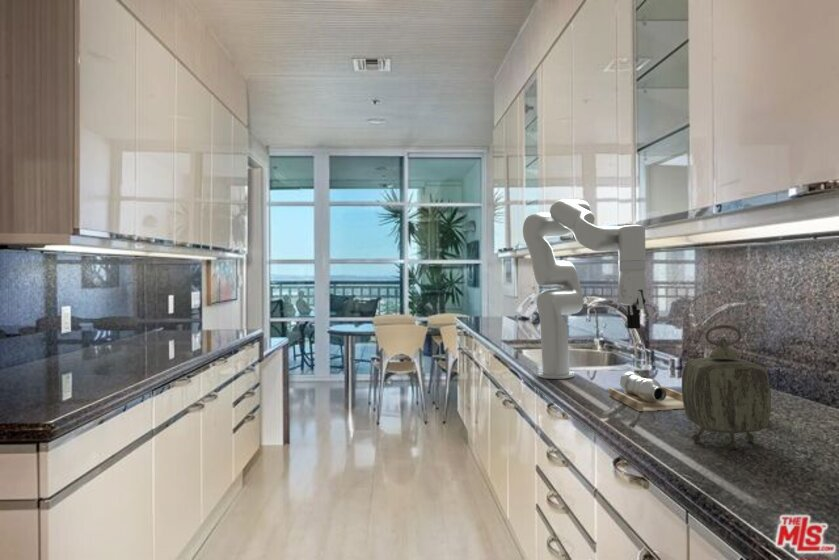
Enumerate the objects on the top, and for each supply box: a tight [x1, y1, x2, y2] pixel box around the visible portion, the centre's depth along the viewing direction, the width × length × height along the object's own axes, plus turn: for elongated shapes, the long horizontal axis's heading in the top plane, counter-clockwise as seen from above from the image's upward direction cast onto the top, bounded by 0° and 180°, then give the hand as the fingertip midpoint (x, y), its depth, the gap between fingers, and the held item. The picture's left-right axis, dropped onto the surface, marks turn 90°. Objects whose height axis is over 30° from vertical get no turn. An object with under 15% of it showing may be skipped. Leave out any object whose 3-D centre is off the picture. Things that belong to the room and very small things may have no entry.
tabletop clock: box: [681, 324, 772, 450], centre depth 110 cm, size 14×9×25 cm, turn 83°
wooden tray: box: [608, 384, 685, 412], centre depth 150 cm, size 20×16×2 cm
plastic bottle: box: [619, 371, 666, 403], centre depth 152 cm, size 6×7×20 cm
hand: (633, 328), depth 159 cm, fingers closed
